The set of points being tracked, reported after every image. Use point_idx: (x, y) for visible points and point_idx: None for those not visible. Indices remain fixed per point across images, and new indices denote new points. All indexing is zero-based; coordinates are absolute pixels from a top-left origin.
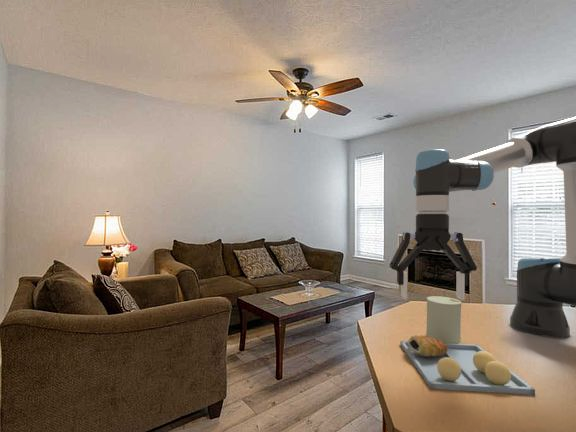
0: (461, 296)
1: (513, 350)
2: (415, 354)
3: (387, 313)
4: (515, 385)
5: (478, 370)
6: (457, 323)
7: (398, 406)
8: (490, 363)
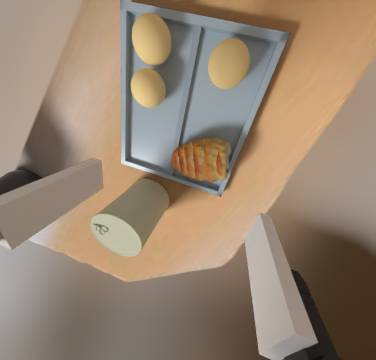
0: (91, 164)
1: (84, 152)
2: None
3: (175, 270)
4: None
5: None
6: (124, 194)
7: None
8: (155, 39)
